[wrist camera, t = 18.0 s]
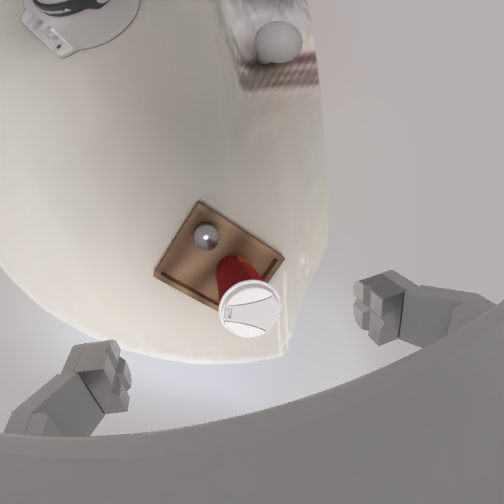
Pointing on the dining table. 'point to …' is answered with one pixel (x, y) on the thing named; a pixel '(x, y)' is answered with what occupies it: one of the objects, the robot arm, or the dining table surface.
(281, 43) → the lightbulb
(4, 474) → the robot arm
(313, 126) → the dining table surface
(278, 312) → the paper cup
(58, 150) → the dining table surface
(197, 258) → the tray
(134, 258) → the dining table surface
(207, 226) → the part
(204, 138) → the dining table surface
